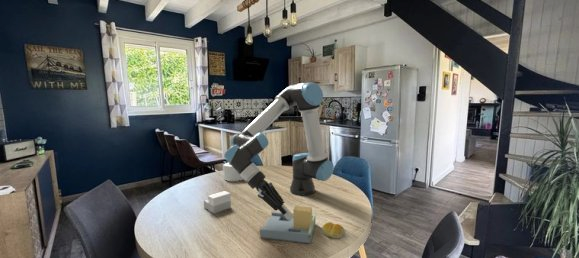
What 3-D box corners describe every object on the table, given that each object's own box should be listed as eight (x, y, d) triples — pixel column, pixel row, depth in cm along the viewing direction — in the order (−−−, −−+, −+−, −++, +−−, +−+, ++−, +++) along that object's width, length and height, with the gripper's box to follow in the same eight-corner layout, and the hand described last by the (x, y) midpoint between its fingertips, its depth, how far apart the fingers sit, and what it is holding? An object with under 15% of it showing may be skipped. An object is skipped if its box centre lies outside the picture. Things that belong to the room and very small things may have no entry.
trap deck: (260, 238, 96) (260, 227, 96) (272, 219, 112) (271, 210, 111) (310, 244, 92) (310, 232, 91) (315, 223, 107) (315, 214, 107)
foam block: (221, 203, 133) (220, 188, 132) (231, 208, 125) (230, 193, 125) (204, 208, 126) (203, 193, 125) (213, 214, 119) (213, 198, 118)
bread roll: (326, 226, 105) (326, 217, 105) (346, 232, 101) (346, 222, 100) (318, 235, 98) (318, 225, 98) (339, 241, 94) (339, 231, 93)
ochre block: (293, 227, 99) (293, 209, 99) (295, 222, 103) (295, 205, 102) (310, 229, 98) (310, 211, 97) (311, 224, 102) (311, 207, 101)
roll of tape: (228, 174, 184) (228, 161, 183) (248, 175, 183) (248, 161, 181) (220, 181, 169) (220, 166, 168) (242, 181, 167) (242, 166, 166)
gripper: (253, 177, 110) (288, 216, 108) (241, 186, 98) (281, 231, 95) (264, 166, 109) (300, 206, 106) (253, 174, 96) (294, 220, 94)
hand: (291, 218), depth 101 cm, fingers closed
